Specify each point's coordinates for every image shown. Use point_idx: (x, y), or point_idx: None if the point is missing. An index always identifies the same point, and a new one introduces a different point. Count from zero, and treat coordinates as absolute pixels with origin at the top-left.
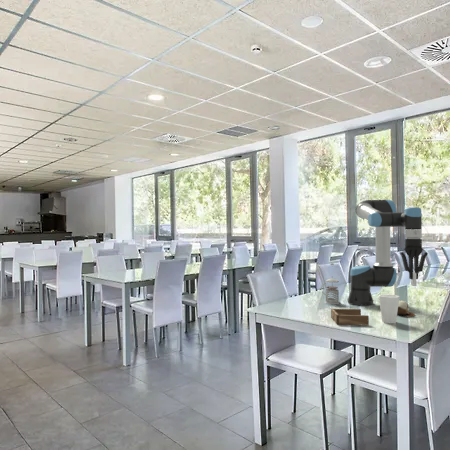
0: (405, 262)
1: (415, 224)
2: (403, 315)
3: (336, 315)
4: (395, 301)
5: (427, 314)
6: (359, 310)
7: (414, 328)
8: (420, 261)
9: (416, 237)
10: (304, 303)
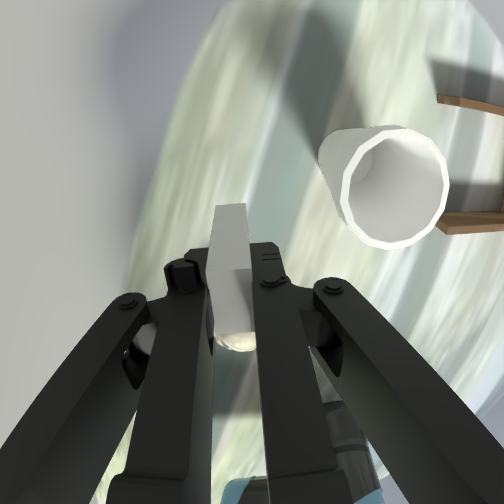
0: (423, 375)
1: None
2: None
3: None
4: (370, 128)
5: None
6: (450, 224)
7: (270, 43)
8: (98, 449)
9: None
10: (476, 377)
